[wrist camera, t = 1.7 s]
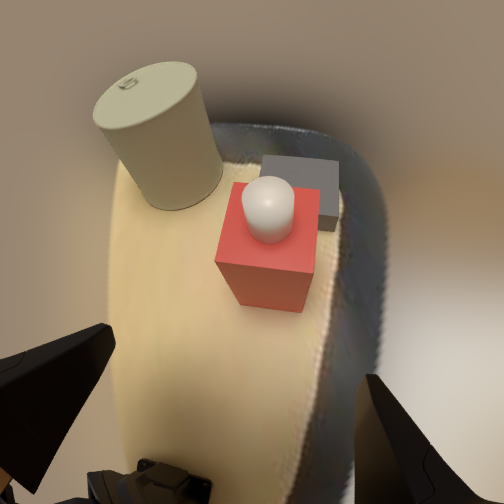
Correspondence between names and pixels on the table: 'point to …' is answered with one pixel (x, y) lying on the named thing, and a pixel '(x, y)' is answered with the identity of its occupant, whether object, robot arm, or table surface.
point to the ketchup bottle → (269, 243)
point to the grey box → (309, 182)
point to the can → (162, 134)
